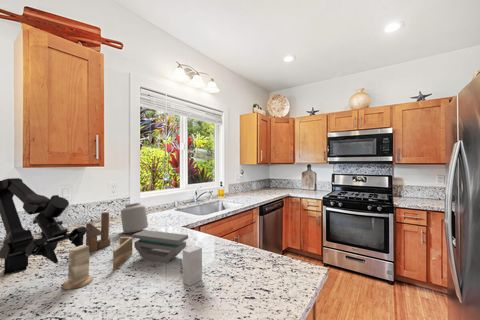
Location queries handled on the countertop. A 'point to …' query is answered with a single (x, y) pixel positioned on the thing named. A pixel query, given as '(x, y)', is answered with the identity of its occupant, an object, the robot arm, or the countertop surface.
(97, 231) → the wooden block
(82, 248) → the pale wood block
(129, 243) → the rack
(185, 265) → the skincare box
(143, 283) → the countertop surface
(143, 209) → the jar
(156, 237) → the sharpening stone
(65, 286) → the coaster
